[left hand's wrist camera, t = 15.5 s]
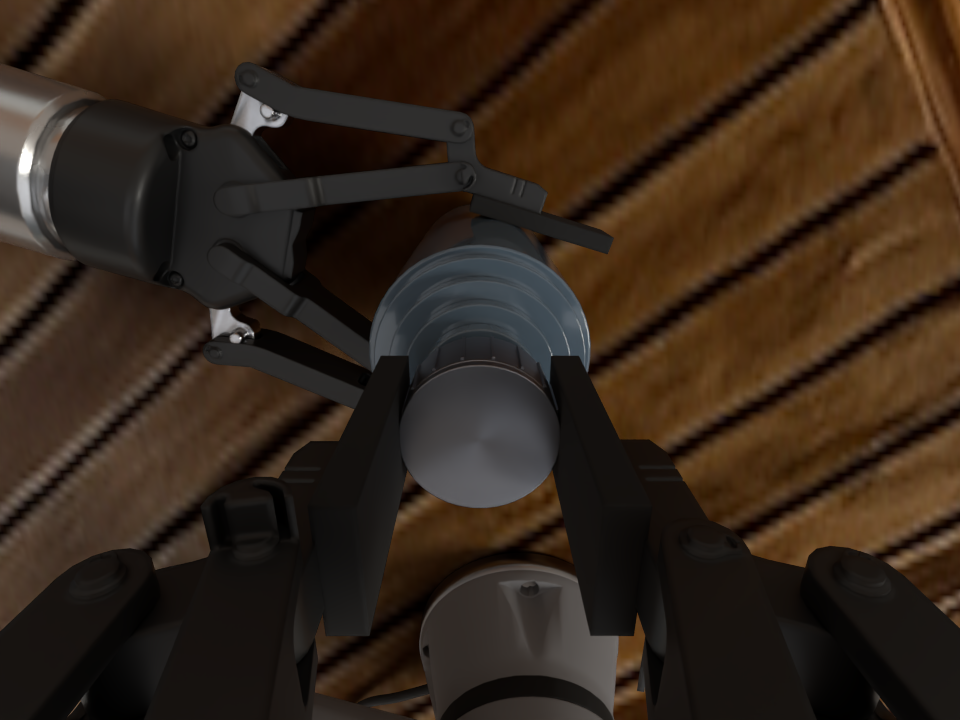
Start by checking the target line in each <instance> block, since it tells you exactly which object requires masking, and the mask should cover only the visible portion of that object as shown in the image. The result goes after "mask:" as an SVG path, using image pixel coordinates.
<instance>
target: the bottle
mask: <svg viewBox="0 0 960 720" xmlns="http://www.w3.org/2000/svg"><path fill="white" fill-rule="evenodd" d="M469 209H470V204H468V205H463V206H460V207H457V208H455V209H453V210H451V211H449V212H447V213H446V214H444V215H443V216H441V217H440V218H439V219H438V220H437V221H436V222H434V224H433V225H432V226H431V227H430V228H429V230H428V231H427V233H426V234H425V236H424V237H423V239H422V240H421V242H420V243H419V245H418V246H417V248H416V249H415V251H414V252H413V253H412V255H411V256H410V258H409V259H408V261H407V262H406V264H405V265H404V267H403V268H402V270H401V271H400V273H399V274H398V276H397V277H396V279H395V280H394V282H393V283H392V285H391V286H390V288H389V289H388V291H387V292H386V294H385V295H384V297H383V298H382V300H381V302H380V304H379V306H378V308H377V311H376V313H375V316H374V319H373V323H372V326H371V331H370V338H369V358H370V365H371V370H372V373H373V371H374V369H375V366H376V364H377V362H378V360H379V358H380V356H409V371H410V385H411V382H412V380H413V377H414V375H415V372H416V369H417V366H418V364H420V365H421V364H422V363H423V361H424V360H425V359H426V358H427V357H428V356H429V355H430V354H432V353H433V352H434V351H436V348H437V347H442V346H444V345H446V344H448V343H450V342H453V341H456V340H459V339H462V337H466V338H469V337H491V336H494V338H496V339H501V340H504V341H507V342H509V343H512V344H514V345H516V346H517V345H519V346H520V347H521V349H522V350H524V351H525V352H527V353H528V354H529V355H530V356H531V357H532V358H533V359H534V360H535V361H536V362H537V363H538V362H539V363H540V364H541V367H542V370H543V372H544V374H545V376H546V378H547V381H548V383H549V384H550V365H551V356H579V357H580V359H581V361H582V363H583V365H584V367H585V369H586V371H587V372H588V368H589V362H590V348H591V343H590V334H589V328H588V324H587V320H586V317H585V314H584V312H583V310H582V307H581V305H580V303H579V301H578V299H577V298H576V296H575V294H574V293H573V291H572V290H571V288H570V287H569V285H568V284H567V282H566V281H565V279H564V278H563V276H562V275H561V273H560V272H559V270H558V269H557V267H556V266H555V264H554V263H553V261H552V260H551V258H550V257H549V255H548V254H547V252H546V251H545V249H544V248H543V246H542V245H541V243H540V242H539V240H538V239H537V238H536V236H535V235H534V233H533V232H532V231H531V230H528V229H524V228H521V227H518V226H515V225H511V224H508V223H505V222H502V221H498V220H495V219H492V218H489V217H485V216H482V215H479V214H476V213H473V212H469Z"/></svg>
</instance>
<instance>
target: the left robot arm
mask: <svg viewBox="0 0 960 720" xmlns="http://www.w3.org/2000/svg"><path fill="white" fill-rule="evenodd" d="M550 384H551V386H552V390H553V393H554V396H555V399H556V403H557V406H558V412H557V414H558V417H559V421H560V441H559V455H558V458H557V461H556V463H555V465H554V467H553V469H552V470H553V474H554V479H555V483H556V488H557V492H558V496H559V501H560V505H561V509H562V514H563V518H564V523H565V527H566V531H567V536H568V540H569V544H570V549H571V553H572V558H573V562H574V565H572V564H570V563H568V562H566V561H563V560H560V559H558V558H554V557H550V556H546V555H541V554H533V553H506V554H499V555H494V556H489V557H486V558H482V559H479V560H476V561H474V562H471V563H469V564H467V565H465V566H463V567H461V568H460V569H458V570H456V571H455V572H453V573H452V574H451V575H449V576H448V577H447V578H446V579H444V580H443V581H442V582H441V583H440V584H439V585H438V587H437V588H436V589H435V590H434V592H433V593H432V594H431V596H430V598H429V600H428V601H427V604H426V606H425V609H424V612H423V616H422V624H421V632H420V641H419V645H420V655H421V660H422V664H423V668H424V671H425V675H426V680H427V684H426V685H422V686H419V687H415V688H411V689H408V690H404V691H400V692H396V693H391V694H384V695H378V696H373V697H369V698H366V699H364V700H362V701H360V702H358V703H357V704H356V703H352V702H348V701H345V700H341V699H337V698H333V697H330V696H326V695H322V694H318V693H315V683H316V673H317V663H318V656H317V649H316V642H315V635H316V632H317V629H318V626H319V623H320V620H321V617H322V614H323V619H324V626H325V633H326V636H369V635H370V631H371V626H372V622H373V617H374V613H375V609H376V604H377V600H378V596H379V591H380V587H381V582H382V578H383V574H384V569H385V565H386V561H387V556H388V552H389V547H390V543H391V539H392V534H393V530H394V526H395V521H396V517H397V512H398V508H399V504H400V499H401V495H402V491H403V486H404V482H405V477H406V473H407V468H406V466H405V464H404V462H403V459H402V457H401V446H400V430H399V423H400V418H401V415H402V414H401V412H402V409H403V406H404V402H405V399H406V396H407V392H408V389H409V387H410V371H409V356H380V358H379V360H378V362H377V364H376V366H375V369H374V371H373V373H372V375H371V377H370V379H369V381H368V383H367V385H366V387H365V389H364V391H363V393H362V395H361V397H360V399H359V401H358V403H357V405H356V407H355V410H354V412H353V414H352V416H351V418H350V420H349V422H348V424H347V426H346V428H345V430H344V432H343V434H342V436H341V438H340V440H339V441H310V442H309V443H308V444H306V445H305V446H304V447H302V448H301V449H299V450H298V451H297V452H295V453H294V454H293V456H292V457H291V459H290V460H289V462H288V464H287V465H286V467H285V471H283V472H282V473H281V475H280V477H279V478H278V479H277V478H273V477H253V478H248V479H243V480H238V481H236V482H233V483H231V484H228V485H226V486H224V487H221V488H220V489H219V490H217V491H216V492H214V493H213V494H211V495H210V496H208V498H207V499H206V500H205V501H204V503H203V504H202V505H201V506H200V507H201V511H202V516H203V520H204V524H205V528H206V533H207V537H208V541H209V546H210V550H211V551H210V554H209V556H208V557H207V558H203V559H200V560H196V561H193V562H189V563H184V564H180V565H175V566H171V567H166V568H162V569H157V570H155V569H154V565H153V562H152V558H151V557H150V556H149V555H148V554H146V553H145V552H144V551H141V550H136V549H131V548H129V549H118V550H111V551H108V552H104V553H100V554H98V555H95V556H92V557H90V558H88V559H86V560H84V561H82V562H80V563H78V564H76V565H74V566H72V567H71V568H69V569H68V570H67V571H66V572H64V573H63V574H62V575H60V576H59V577H58V578H56V579H55V580H54V581H53V582H52V583H51V584H50V585H49V586H48V587H47V588H46V589H45V590H44V591H43V592H41V593H40V594H39V595H38V596H37V597H36V598H35V599H34V600H33V601H32V602H31V603H30V604H29V605H28V606H27V607H26V608H25V609H24V610H22V611H21V612H20V613H19V614H18V615H17V616H16V617H15V618H14V619H13V620H12V621H11V622H10V623H9V624H8V625H7V626H6V627H5V628H3V629H2V630H1V631H0V720H416V719H412V718H408V717H404V716H401V715H397V714H393V713H389V712H386V711H382V710H378V709H374V708H371V707H372V706H377V705H384V704H391V703H397V702H401V701H405V700H408V699H412V698H416V697H420V696H423V695H427V694H430V697H431V702H432V706H433V710H434V714H435V718H436V720H614V718H613V705H614V693H615V679H616V660H617V655H618V636H634V631H635V624H636V617H637V613H638V615H639V618H640V621H641V624H642V627H643V630H644V633H645V642H644V649H643V655H642V662H641V668H640V674H639V681H638V688H637V691H641V692H644V689H645V692H646V702H647V712H648V720H960V628H959V627H958V626H957V625H956V624H955V623H954V622H952V621H951V620H950V619H949V618H948V617H947V616H946V615H945V614H944V613H943V612H942V611H941V610H940V609H939V608H938V607H937V606H935V605H934V604H933V603H932V602H931V601H930V600H929V599H928V598H927V597H926V596H925V595H924V594H923V593H922V592H921V591H920V590H918V589H917V588H916V587H915V586H914V585H913V584H912V583H911V582H910V581H909V580H908V579H907V578H906V577H905V576H903V575H902V574H901V573H899V572H898V571H897V570H895V569H894V568H893V567H891V566H890V565H889V564H887V563H885V562H883V561H881V560H879V559H877V558H875V557H873V556H871V555H869V554H867V553H864V552H861V551H857V550H854V549H850V548H845V547H835V546H828V547H823V548H818V549H816V550H815V551H813V552H812V553H811V554H810V555H809V557H808V560H807V564H806V567H805V568H804V567H799V566H795V565H790V564H785V563H781V562H776V561H772V560H768V559H764V558H761V557H757V556H754V555H752V554H751V553H750V550H749V549H748V547H747V546H746V544H745V543H744V541H743V540H742V539H741V538H740V537H739V536H738V535H736V534H735V533H734V532H732V531H731V530H730V529H728V528H726V527H724V526H722V525H720V524H717V523H715V522H713V521H709V520H708V518H707V517H706V515H705V514H704V512H703V510H702V509H701V507H700V505H699V504H698V502H697V501H696V499H695V497H694V496H693V494H692V493H691V491H690V489H689V488H688V486H687V485H686V483H685V481H683V478H682V477H681V475H680V473H679V472H678V470H677V469H675V465H674V464H673V462H672V461H671V459H670V457H669V456H668V454H667V452H666V451H664V450H663V449H661V448H660V447H659V446H657V445H656V444H654V443H653V442H652V441H650V440H620V439H619V437H618V435H617V433H616V431H615V429H614V427H613V425H612V423H611V420H610V418H609V416H608V414H607V412H606V410H605V408H604V406H603V404H602V402H601V400H600V398H599V396H598V394H597V392H596V390H595V388H594V386H593V384H592V382H591V379H590V377H589V375H588V373H587V371H586V369H585V367H584V365H583V363H582V361H581V359H580V357H579V356H551V365H550ZM550 384H549V385H550ZM879 698H881V699H882V700H883V702H884V703H885V704H886V706H887V707H888V708H889V709H890V711H891V712H892V713H893V715H894V716H895V717H896V718H895V717H894V716H893V715H892V714H891V713H890V712H889V711H888V710H887V709H886V707H885V706H884V705H883V703H882V702H881V701H880V700H879ZM80 700H81V702H80V703H79V705H78V706H77V707H76V709H75V710H74V711H73V712H72V710H73V709H74V708H75V706H76V705H77V704H78V702H79V701H80ZM71 712H72V713H71ZM70 713H71V714H70ZM69 714H70V715H69ZM68 715H69V716H68Z"/></svg>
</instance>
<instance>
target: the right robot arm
mask: <svg viewBox="0 0 960 720" xmlns="http://www.w3.org/2000/svg"><path fill="white" fill-rule="evenodd" d="M235 81H236V84H237V86H238V88H239V89H240V90H241V94H240V97H239V100H238V103H237V106H236V109H235V112H234V115H233V118H232V121H231V124H221V125H218V126H214V127H206V126H202V125H199V124H196V123H193V122H189V121H186V120H183V119H180V118H176V117H173V116H170V115H167V114H164V113H160V112H157V111H154V110H151V109H147V108H144V107H141V106H138V105H135V104H131V103H128V102H125V101H121V100H114V99H110V100H107V99H106V98H104V97H103V96H101V95H100V94H98V93H96V92H93V91H89V90H86V89H83V88H80V87H76V86H73V85H70V84H67V83H63V82H60V81H57V80H53V79H50V78H47V77H44V76H40V75H37V74H34V73H31V72H27V71H24V70H21V69H17V68H14V67H11V66H8V65H4V64H1V63H0V241H1V242H5V243H8V244H11V245H15V246H18V247H22V248H25V249H29V250H32V251H35V252H39V253H42V254H46V255H49V256H52V257H56V258H60V259H65V260H71V261H73V260H78V261H80V262H81V263H83V264H85V265H88V266H91V267H94V268H98V269H101V270H105V271H108V272H112V273H116V274H119V275H123V276H127V277H130V278H134V279H137V280H141V281H145V282H148V283H152V284H156V285H160V286H165V287H170V288H175V289H179V290H182V291H184V292H186V293H188V294H190V295H191V296H193V297H194V298H196V299H197V300H198V301H199V302H200V303H201V304H203V305H204V306H206V307H208V308H209V309H210V319H211V329H212V340H210V341H209V342H208V343H206V344H205V346H204V347H203V354H204V357H205V358H206V359H207V360H208V361H209V362H211V363H214V364H219V365H231V366H243V367H252V368H254V369H257V370H259V371H262V372H264V373H267V374H269V375H271V376H274V377H276V378H279V379H281V380H284V381H286V382H289V383H291V384H294V385H296V386H299V387H301V388H303V389H306V390H308V391H311V392H313V393H316V394H318V395H321V396H323V397H326V398H328V399H331V400H333V401H335V402H338V403H340V404H343V405H345V406H348V407H350V408H353V409H355V407H356V405H357V403H358V401H359V399H360V397H361V395H362V393H363V391H364V389H365V387H366V385H367V383H368V381H369V379H370V377H371V375H372V370H371V365H370V358H369V338H370V331H371V326H372V322H371V321H369V320H368V319H366V318H365V317H364V316H362V315H361V314H360V313H358V312H357V311H355V310H354V309H353V308H351V307H350V306H349V305H347V304H346V303H345V302H343V301H342V300H340V299H339V298H338V297H336V296H335V295H334V294H332V293H331V292H329V291H328V290H327V289H325V288H324V287H323V286H322V285H321V283H320V281H319V280H318V279H317V278H316V277H315V276H313V275H312V274H311V273H309V272H308V271H307V270H305V264H306V259H307V248H306V237H307V235H308V233H309V231H310V228H311V226H312V224H313V220H314V214H315V208H313V207H317V206H323V205H332V204H342V203H351V202H361V201H371V200H380V199H390V198H400V197H409V196H419V195H429V194H438V193H448V192H458V191H463V192H469V193H472V194H473V197H472V201H471V204H470V209H469V212H473V213H476V214H479V215H482V216H485V217H489V218H492V219H495V220H498V221H502V222H505V223H508V224H511V225H515V226H518V227H521V228H524V229H528V230H531V231H534V232H537V233H541V234H544V235H547V236H550V237H554V238H557V239H560V240H563V241H566V242H570V243H573V244H576V245H579V246H583V247H586V248H589V249H592V250H596V251H599V252H602V253H605V254H608V252H609V249H610V247H611V244H612V241H613V239H614V238H613V237H612V236H610V235H608V234H607V233H605V232H604V231H602V230H600V229H597V228H594V227H590V226H587V225H584V224H581V223H578V222H574V221H571V220H568V219H565V218H562V217H558V216H555V215H552V214H549V213H546V212H543V211H542V208H543V205H544V202H545V199H546V196H547V192H546V191H545V190H544V189H543V188H542V187H540V186H539V185H538V184H536V183H534V182H530V181H527V180H524V179H521V178H518V177H515V176H512V175H509V174H505V173H502V172H499V171H496V170H493V169H490V168H487V167H485V166H483V165H482V164H481V163H480V162H479V161H478V159H477V156H476V152H475V136H474V125H473V122H472V120H471V118H470V117H469V116H468V115H467V114H464V113H462V112H456V111H450V110H443V109H437V108H431V107H424V106H418V105H411V104H405V103H399V102H392V101H386V100H380V99H373V98H367V97H360V96H354V95H348V94H341V93H335V92H329V91H322V90H316V89H309V88H303V87H301V86H299V85H297V84H296V83H294V82H292V81H290V80H288V79H287V78H285V77H283V76H281V75H280V74H278V73H276V72H273V71H271V70H268V69H266V68H263V67H261V66H258V65H256V64H253V63H250V62H245V63H242V64H240V65H239V66H238V67H237V69H236V71H235ZM294 118H298V119H303V120H308V121H313V122H318V123H324V124H331V125H337V126H344V127H350V128H357V129H363V130H370V131H376V132H383V133H389V134H396V135H402V136H409V137H415V138H422V139H428V140H435V141H441V142H447V154H448V162H446V163H436V164H427V165H417V166H408V167H398V168H389V169H379V170H370V171H361V172H351V173H342V174H332V175H322V176H312V177H303V178H296V177H295V176H294V175H293V174H292V172H291V171H290V170H289V169H288V168H287V167H286V165H285V164H284V163H283V162H282V161H281V159H280V158H279V157H278V156H277V155H276V154H275V152H274V151H273V150H272V149H271V148H270V146H269V145H268V144H267V143H266V142H265V141H264V139H263V138H262V137H261V134H262V132H263V131H264V130H265V129H266V128H268V127H273V128H281V129H283V128H287V127H289V126H290V125H291V124H292V122H293V120H294ZM256 298H259V299H261V300H262V301H264V302H265V303H266V304H268V305H269V306H271V307H272V308H274V309H275V310H276V311H278V312H279V313H281V314H283V315H285V316H288V317H294V318H296V319H297V320H299V321H300V322H301V323H303V324H304V325H306V326H307V327H309V328H310V329H311V330H313V331H314V332H316V333H317V334H319V335H320V336H321V337H323V338H324V339H326V340H327V341H328V342H330V343H331V344H333V345H334V346H336V347H337V348H338V349H340V350H341V351H343V352H344V353H346V354H347V355H348V356H350V357H351V358H353V359H354V360H355V361H357V362H358V363H360V364H361V365H363V366H364V367H365V368H367V369H365V368H363V367H361V366H358V365H356V364H354V363H351V362H349V361H346V360H344V359H342V358H339V357H337V356H335V355H332V354H330V353H327V352H325V351H323V350H320V349H318V348H316V347H313V346H311V345H308V344H306V343H304V342H301V341H299V340H297V339H294V338H292V337H289V336H287V335H285V334H282V333H279V332H276V331H272V330H268V329H262V328H260V323H259V321H258V320H256V319H253V318H250V317H247V316H245V315H243V314H242V313H241V312H240V310H239V308H238V305H239V304H242V303H245V302H248V301H251V300H253V299H256Z"/></svg>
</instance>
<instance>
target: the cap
mask: <svg viewBox="0 0 960 720" xmlns="http://www.w3.org/2000/svg"><path fill="white" fill-rule="evenodd" d="M557 412H558V406H557V403H556V399H555V396H554V393H553V390H552V386H551V384H550V385H549V383H548V381H547V378H546V376H545V374H544V372H543V370H542V367H541V364H540V363H539V362H538V363H537V362H536V361H535V360H534V359H533V358H532V357H531V356H530V355H529V354H528V353H527V352H525V351H524V350H522V349H521V347H520V346H519V345H517V346H516V345H514V344H512V343H509V342H507V341H504V340H501V339H496V338H494V336H491V337H469V338H466V337H462V339H459V340H456V341H453V342H450V343H448V344H446V345H444V346H442V347H437V348H436V351H434V352H433V353H432V354H430V355H429V356H428V357H427V358H426V359H425V360H424V361H423V363H422V364H421V365H420V364H418V366H417V369H416V372H415V375H414V377H413V380H412V382H411V385H410V387H409V389H408V392H407V396H406V399H405V402H404V406H403V409H402V412H401V414H402V415H401V418H400V423H399V430H400V446H401V457H402V459H403V462H404V464H405V466H406V468H407V469H408V471H409V473H410V474H411V475H412V477H413V478H414V479H415V481H416V482H417V483H418V484H419V485H420V486H421V487H423V488H424V489H425V490H426V491H428V492H429V493H430V494H432V495H434V496H436V497H437V498H439V499H441V500H444V501H446V502H448V503H452V504H455V505H458V506H463V507H471V508H489V507H497V506H501V505H505V504H508V503H511V502H514V501H516V500H518V499H520V498H522V497H524V496H526V495H527V494H529V493H530V492H532V491H533V490H534V489H536V488H537V487H538V486H539V485H540V484H541V483H542V482H543V481H544V480H545V479H546V478H547V476H548V475H549V473H550V472H551V470H552V469H553V467H554V465H555V463H556V461H557V458H558V455H559V441H560V421H559V417H558V414H557Z"/></svg>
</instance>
